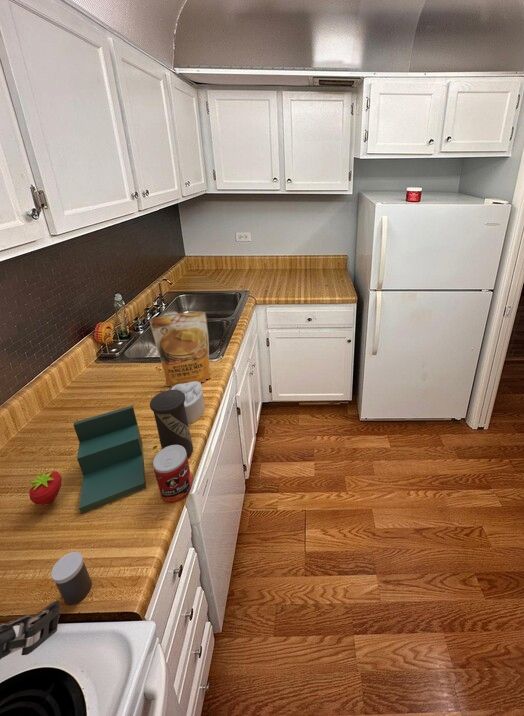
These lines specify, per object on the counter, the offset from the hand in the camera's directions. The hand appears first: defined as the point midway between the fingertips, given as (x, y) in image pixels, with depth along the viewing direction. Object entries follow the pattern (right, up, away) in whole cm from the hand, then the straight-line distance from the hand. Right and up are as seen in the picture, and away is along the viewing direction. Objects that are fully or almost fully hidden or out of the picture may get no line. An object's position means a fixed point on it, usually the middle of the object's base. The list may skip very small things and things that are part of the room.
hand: (25, 615), depth 51 cm
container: (+5, +3, +45) cm, 45 cm away
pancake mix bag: (-4, +16, +76) cm, 78 cm away
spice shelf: (-9, +1, +38) cm, 39 cm away
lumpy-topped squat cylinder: (+2, +10, +61) cm, 62 cm away
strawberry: (-20, -2, +31) cm, 37 cm away
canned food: (+9, -1, +34) cm, 35 cm away
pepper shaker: (-2, -9, +14) cm, 16 cm away
